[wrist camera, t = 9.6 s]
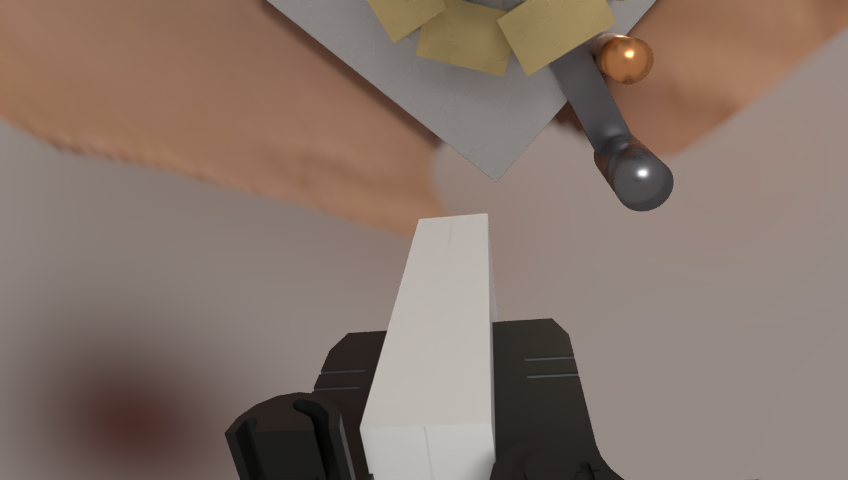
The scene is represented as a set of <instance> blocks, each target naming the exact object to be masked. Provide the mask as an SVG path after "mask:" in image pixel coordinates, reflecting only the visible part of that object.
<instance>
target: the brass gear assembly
mask: <svg viewBox="0 0 848 480" xmlns="http://www.w3.org/2000/svg"><path fill="white" fill-rule="evenodd" d="M367 1H368V3H369V4H370V6H371V8H372V9H373V11H374V12H375V14H376V16H377V17H378V19H379V21H380V22H381V24H382V26H383V27H384V29H385V31H386V32H387V34H388V35H389V37H390V39H391V40H392V42H393V44H394V43H396V42H398V41H400V40H402V39H404V38H406V37H407V36H409V35H410V34H412V33H413V32H415V31H416V30H418V29H419V28H421V31H420V36H419V41H418V46H417V50H416V55H417V56H421V57H425V58H429V59H433V60H437V61H441V62H445V63H449V64H453V65H457V66H461V67H465V68H469V69H474V70H478V71H482V72H486V73H490V74H494V75H498V76H502V77H503V76H504V73H505V69H506V65H507V62H508V58H509V54H510V51H511V48H512V50H513V52H514V54H515V55H516V57H517V59H518V61H519V63H520V65H521V66H522V68H523V70H524V72H525V73H526V75H527V77H528V76H529V75H531V74H533V73H534V72H536V71H538V70H539V69H541V68H542V67H544V66H546V65H547V64H549V66H550V68H551V69H552V71H553V73H554V75H555V77H556V79H557V81H558V83H559V84H560V86H561V88H562V90H563V92H564V94H565V96H566V98H567V100H568V101H569V103H570V105H571V107H572V109H573V111H574V113H575V115H576V116H577V118H578V120H579V122H580V124H581V126H582V128H583V130H584V132H585V133H586V135H587V137H588V139H589V141H590V143H591V145H592V147H593V148H594V150H595V151H594V161H595V164H596V166H597V167H598V169H599V170H600V172H601V173H602V175H603V176H604V177H605V179H606V181H607V182H608V183H609V185H610V186H611V188H612V189H613V191H614V192H615V194H616V195H617V197H618V198H619V199H620V201H621V202H622V203H623V204H624V205H625V206H626V207H627V208H629V209H632V210H635V211H649V210H652V209H655V208H657V207H658V206H660V205H661V204H663V203H664V202H665V201H666V200H667V199H668V197H669V195H670V194H671V192H672V189H673V175H672V173H671V171H670V169H669V168H668V167H667V166H666V165H665V164H664V163H663V162H662V161H661V160H660V159H659V158H657V157H656V156H655V155H654V154H653V153H652V152H651V151H650V150H649V149H648V148H646V147H645V146H644V145H643V144H642V143H641V142H640V141H639V140H638V139H637V138H635V137H634V136H633V135H632V134H631V133H630V131H629V129H628V127H627V125H626V123H625V121H624V119H623V117H622V115H621V113H620V111H619V109H618V107H617V105H616V103H615V101H614V99H613V97H612V95H611V93H610V91H609V89H608V87H607V85H606V83H605V81H604V79H603V77H602V75H601V73H600V71H599V69H598V67H597V66H596V64H595V62H594V60H593V58H592V56H591V54H590V52H589V50H588V48H587V46H586V44H585V41H587V40H589V39H590V38H592V37H594V36H595V35H597V34H598V33H600V32H602V31H603V30H605V29H607V28H608V27H610V26H612V25H613V24H615V23H617V22H616V20H615V18H614V16H613V14H612V12H611V10H610V8H609V6H608V4H607V2H606V0H521V1H520V2H518V3H517V4H515V5H514V6H512V7H511V8H509V9H508V10H506V11H504V10H500V9H496V8H492V7H488V6H484V5H480V4H476V3H472V2H468V1H464V0H367ZM613 1H627V0H613Z"/></svg>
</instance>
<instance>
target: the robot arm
mask: <svg viewBox="0 0 848 480" xmlns="http://www.w3.org/2000/svg"><path fill="white" fill-rule="evenodd" d="M225 436H226V439H227V442H228V445H229V448H230V451H231V454H232V457H233V460H234V462H235V466H236V468H237V471H238V475H239V477H240V480H624V479H622V478H621V477H620V476H619V475H618V474H616V473H615V472H614V471H613V470H611V468H610V467H609V466H608V465H607V464H606V462H605V461H604V460H603V458H602V457H601V455H600V453H599V450H598V448H597V446H596V442H595V438H594V434H593V430H592V426H591V422H590V418H589V414H588V410H587V406H586V402H585V398H584V394H583V390H582V386H581V382H580V378H579V376H578V370H577V366H576V362H575V359H574V354H573V349H572V345H571V342H570V338H569V334H568V333H566V331H565V330H563V329H562V328H561V327H560V326H559V325H558V324H557V323H556V322H555V321H554V320H553V319H552V318H550V319H534V320H518V321H503V322H498V317H497V307H496V297H495V286H494V275H493V265H492V254H491V244H490V233H489V222H488V213H484V214H473V215H461V216H450V217H439V218H428V219H419V221H418V225H417V228H416V232H415V235H414V239H413V242H412V246H411V250H410V253H409V257H408V260H407V264H406V267H405V271H404V275H403V278H402V281H401V285H400V288H399V292H398V295H397V299H396V302H395V306H394V309H393V313H392V316H391V320H390V323H389V327H388V330H387V331H374V332H358V333H348V334H347V335H346V336H345V337H344V338H343V339H341V341H339V342H338V343H337V344H336V345H335V346H334V347H333V348H332V349H331V350H330V351H329V353H328V356H327V358H326V360H325V363H324V365H323V367H322V370H321V375H319V377H318V379H317V381H316V384H315V386H314V392H312V393H302V392H297V393H292V394H286V395H280V396H276V397H274V398H271V399H269V400H266V401H264V402H262V403H259V404H256V405H255V406H253V407H252V408H251V409H249V410H248V411H246V412H245V413H243V414H242V415H241V416H239V417H238V418H237V419H236V420H235V421H234V423H233V424H232V425H231V426H230V427H229V428H228V430H227V431H226V432H225Z"/></svg>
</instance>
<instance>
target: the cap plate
mask: <svg viewBox="0 0 848 480" xmlns="http://www.w3.org/2000/svg"><path fill="white" fill-rule="evenodd" d="M267 1H268V2H269V3H271V4H272V5H273V6H275V7H276V8H277V9H278V10H280V11H281V12H282V13H283V14H285V15H286V16H287V17H288V18H290V19H291V20H292V21H293V22H295V23H296V24H297V25H298V26H300V27H301V28H302V29H303V30H305V31H306V32H307V33H309V34H310V35H311V36H312V37H314V38H315V39H316V40H317V41H319V42H320V43H321V44H322V45H324V46H325V47H326V48H327V49H329V50H330V51H331V52H332V53H334V54H335V55H336V56H338V57H339V58H340V59H341V60H343V61H344V62H345V63H346V64H348V65H349V66H350V67H351V68H353V69H354V70H355V71H356V72H358V73H359V74H360V75H361V76H363V77H364V78H365V79H366V80H368V81H369V82H370V83H372V84H373V85H374V86H375V87H377V88H378V89H379V90H380V91H382V92H383V93H384V94H385V95H387V96H388V97H389V98H390V99H392V100H393V101H394V102H395V103H397V104H398V105H399V106H400V107H402V108H403V109H404V110H406V111H407V112H408V113H409V114H411V115H412V116H413V117H414V118H416V119H417V120H418V121H419V122H421V123H422V124H423V125H424V126H426V127H427V128H428V129H429V130H431V131H432V132H433V133H434V134H436V135H437V136H438V137H440V138H441V139H442V140H443V141H445V142H446V143H447V144H448V145H450V146H451V147H452V148H454V149H455V150H456V151H457V152H458V153H460V154H461V155H462V156H463V157H465V158H466V159H467V160H469V161H470V162H471V163H472V164H474V165H475V166H476V167H477V168H479V169H480V170H481V171H482V172H484V173H485V174H486V175H487V176H489V177H490V178H491V179H493V180H494V181H495V182H497V181H498V180H499V179H500V177H501V176H502V175H503V174H504V173H505V172H506V171H507V169H508V168H509V167H510V166H511V165H512V163H514V161H515V160H516V159H517V158H518V157H519V156H520V155H521V153H522V152H523V151H524V150H525V149H526V148H527V147H528V145H529V144H530V143H531V142H532V141H533V140H534V139H535V137H536V136H537V135H538V134H539V133H540V132H541V131H542V130H543V128H544V127H545V126H546V125H547V124H548V123H549V122H550V121H551V119H552V118H553V117H554V116H555V115H556V114H557V113H558V111H559V110H560V109H561V108H562V107H563V106H564V105H565V103H566V102H567V101H568V100H567V98H566V96H565V94H564V92H563V90H562V88H561V86H560V84H559V83H558V81H557V79H556V77H555V75H554V73H553V71H552V69H551V68H550V66H549V64H547V65H546V66H544V67H542V68H541V69H539V70H538V71H536V72H534V73H533V74H531V75H529V76H528V77H527V75H526V73H525V72H524V70H523V68H522V66H521V65H520V63H519V61H518V59H517V57H516V55H515V54H514V52H513V50H512V48H511V51H510V54H509V58H508V62H507V65H506V69H505V73H504V76H503V77H502V76H498V75H494V74H490V73H486V72H482V71H478V70H474V69H469V68H465V67H461V66H457V65H453V64H449V63H445V62H441V61H437V60H433V59H429V58H425V57H421V56H417V55H416V50H417V46H418V41H419V36H420V31H421V28H419V29H418V30H416V31H415V32H413V33H412V34H410V35H409V36H407V37H406V38H404V39H402V40H400V41H398V42H396V43H394V44H393V42H392V40H391V39H390V37H389V35H388V34H387V32H386V31H385V29H384V27H383V26H382V24H381V22H380V21H379V19H378V17H377V16H376V14H375V12H374V11H373V9H372V8H371V6H370V4H369V3H368V1H367V0H267ZM464 1H468V2H472V3H476V4H480V5H484V6H488V7H492V8H496V9H500V10H504V11H506V10H508V9H509V8H511V7H512V6H514V5H515V4H517V3H518V2H520V1H521V0H464ZM655 1H656V0H627V1H613V0H606V2H607V4H608V6H609V8H610V10H611V12H612V14H613V16H614V18H615V20H616V22H617V23H615V24H613V25H612V26H610V27H608V28H607V29H605V30H603V31H602V32H600V33H598V34H597V35H595V36H594V37H592V38H590V39H589V40H587V41H585V44H586V46H587V48H588V50H589V52H590V54H591V56H592V58H593V60H594V62H595V64H596V66H597V67H598V69H599V70H600V71H601V72H603V73H605V74H606V75H608V76H609V77H611V78H613V79H614V80H616V81H618V82H620V83H623V84H634V83H637V82H639V81H641V80H642V79H643V78H645V77H646V76H647V74H648V73H649V72H650V70H651V68H652V65H653V53H652V50H651V48H650V47H649V45H648V44H647V43H645V42H644V41H642V40H639V39H635V38H631V37H628V36H625V35H626V34H627V33H628V32H629V31H630V30H631V28H632V27H633V26H634V25H635V24H636V23H637V22H638V20H639V19H640V18H641V17H642V16H643V15H644V14H645V12H646V11H647V10H648V9H649V8H650V7H651V6H652V5H653V3H654V2H655Z"/></svg>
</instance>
